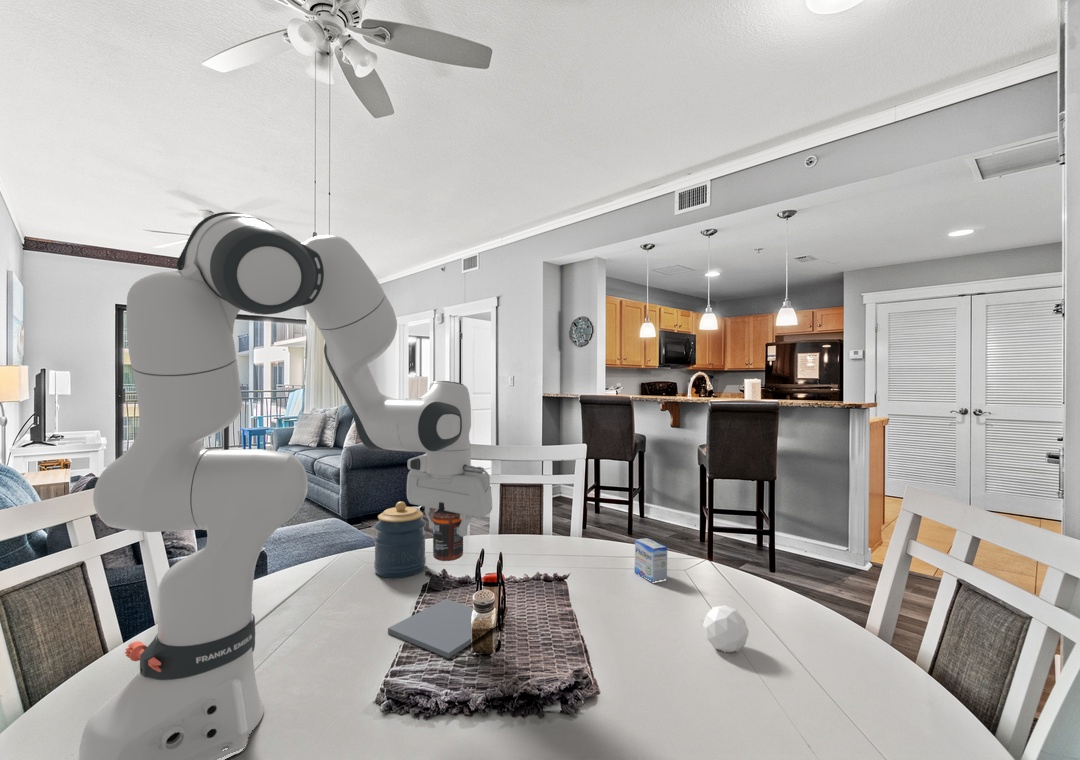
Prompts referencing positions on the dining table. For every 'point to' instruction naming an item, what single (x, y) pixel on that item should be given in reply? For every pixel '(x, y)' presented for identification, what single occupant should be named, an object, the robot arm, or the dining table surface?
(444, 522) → the supplement bottle
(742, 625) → the geometric ball
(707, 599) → the dining table surface
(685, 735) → the dining table surface
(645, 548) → the medicine box
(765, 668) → the dining table surface
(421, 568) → the canister
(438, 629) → the mat
